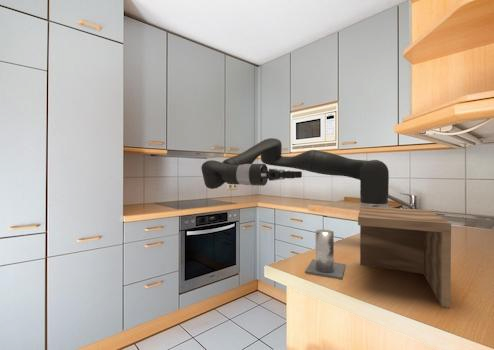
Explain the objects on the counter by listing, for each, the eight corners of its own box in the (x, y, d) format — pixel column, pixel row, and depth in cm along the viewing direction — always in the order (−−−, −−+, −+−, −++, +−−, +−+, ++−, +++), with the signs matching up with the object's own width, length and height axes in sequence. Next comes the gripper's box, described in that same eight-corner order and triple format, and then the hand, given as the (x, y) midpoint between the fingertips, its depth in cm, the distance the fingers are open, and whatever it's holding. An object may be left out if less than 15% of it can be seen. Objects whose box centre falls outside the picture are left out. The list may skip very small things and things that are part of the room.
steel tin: (317, 265, 77) (316, 229, 77) (334, 267, 75) (334, 230, 75) (314, 271, 73) (313, 232, 73) (332, 274, 70) (332, 234, 70)
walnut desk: (360, 263, 81) (360, 206, 81) (429, 272, 73) (429, 210, 73) (357, 291, 62) (358, 216, 62) (450, 308, 54) (451, 223, 54)
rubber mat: (312, 261, 83) (312, 259, 83) (345, 265, 78) (345, 263, 78) (304, 273, 73) (304, 271, 73) (342, 279, 68) (342, 277, 68)
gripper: (243, 163, 82) (292, 162, 75) (260, 164, 95) (303, 163, 88) (243, 186, 82) (292, 187, 75) (260, 184, 95) (303, 185, 88)
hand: (298, 174), depth 82 cm, fingers open, 8 cm apart
